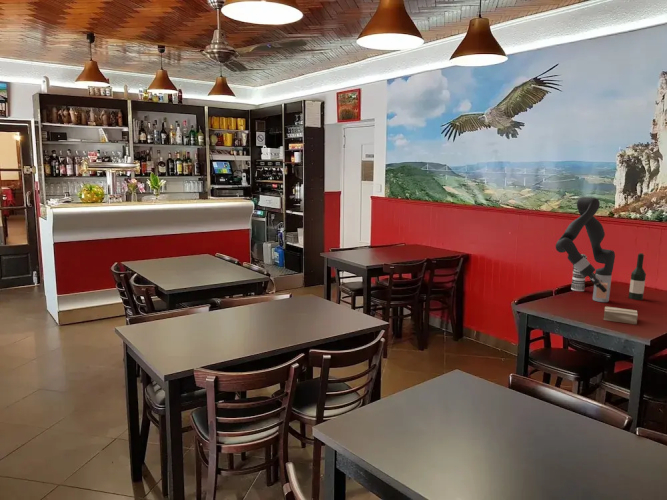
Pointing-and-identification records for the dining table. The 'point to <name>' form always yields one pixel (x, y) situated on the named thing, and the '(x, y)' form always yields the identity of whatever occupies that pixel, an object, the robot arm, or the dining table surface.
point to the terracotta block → (599, 292)
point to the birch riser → (620, 315)
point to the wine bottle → (637, 280)
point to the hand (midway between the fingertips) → (605, 290)
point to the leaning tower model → (578, 279)
